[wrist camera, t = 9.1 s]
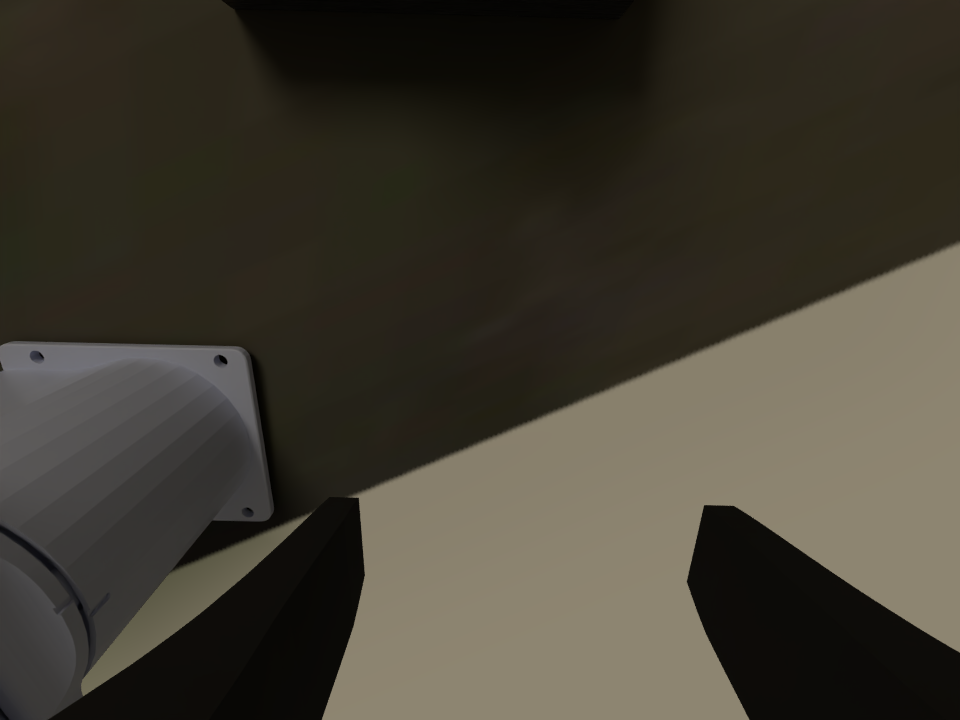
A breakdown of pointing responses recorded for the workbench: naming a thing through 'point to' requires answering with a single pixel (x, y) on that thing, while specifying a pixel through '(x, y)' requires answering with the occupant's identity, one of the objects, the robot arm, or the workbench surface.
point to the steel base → (452, 7)
